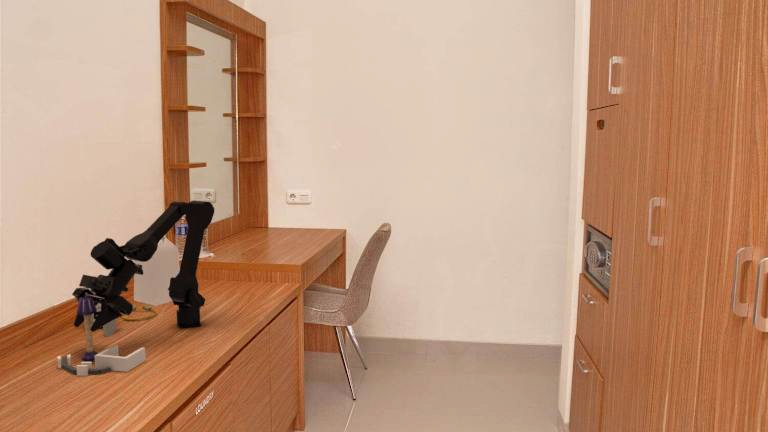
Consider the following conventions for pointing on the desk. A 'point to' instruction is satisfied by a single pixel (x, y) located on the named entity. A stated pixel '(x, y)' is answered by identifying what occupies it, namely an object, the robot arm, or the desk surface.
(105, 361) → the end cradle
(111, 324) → the lighter
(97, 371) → the cable run
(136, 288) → the milk
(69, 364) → the clip
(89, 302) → the toy lamp
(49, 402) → the desk surface
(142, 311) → the extension cord
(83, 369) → the clip
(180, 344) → the desk surface
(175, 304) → the robot arm
